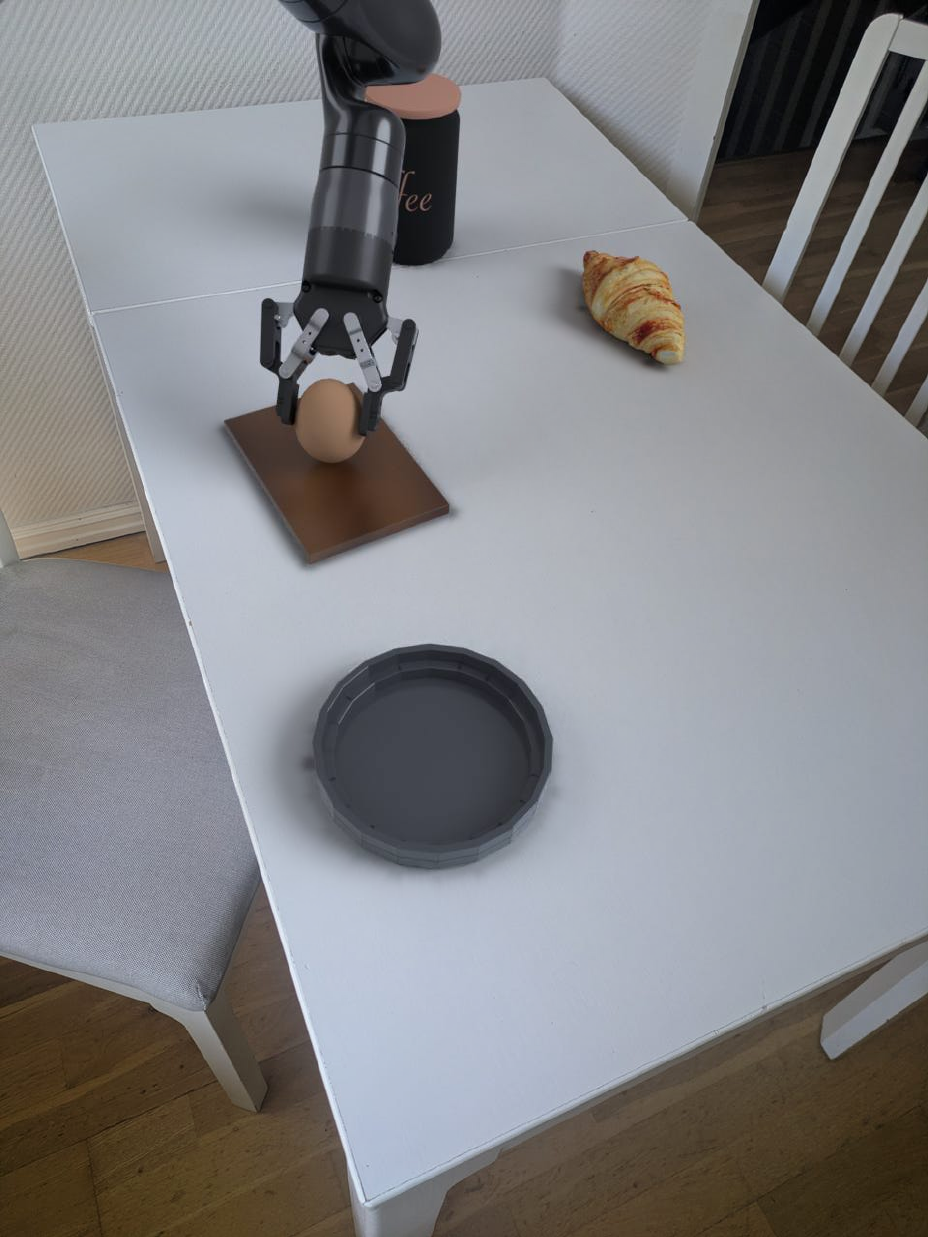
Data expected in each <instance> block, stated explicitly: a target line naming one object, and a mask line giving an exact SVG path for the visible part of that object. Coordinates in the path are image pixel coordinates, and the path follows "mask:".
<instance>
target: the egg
mask: <svg viewBox="0 0 928 1237" xmlns="http://www.w3.org/2000/svg"><path fill="white" fill-rule="evenodd" d="M346 384H347V383H344V382H343V381H341V380H339V379H335V378H322V379H319V380H316V381H314V382H313V383H311V384H310V385H309V386H308V387H307V388H306V389H305V391H304V392H303V393H302V394H301V396H300V397H299V398H300V400H299V403H298V405H297V408H296V412H295V429H296V434H297V438H298V440H299V442H300V444H301V445H302V447H303V448H304V449H305V450H306V452H307V453H309V454H310V455H311V456H312V457H314V458H315V459H317V460H320V461H323V462H326V463H337V462H342V461H344V460H346V459H348V458H350V457H351V456H352V455H354V454H355V453H356V452H357V451H358V449H359V448H360V446H361V444H362V442H363V440H364V438H365V437H363V436H360V435H359V427H360V419H361V412H362V403H361V402H360V400H359V398H358V397H357V395H356V394H355V392H354V391H353V390H352V389H351V388H350V387H349V386H348V385H346Z"/></svg>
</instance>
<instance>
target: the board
mask: <svg viewBox="0 0 928 1237" xmlns="http://www.w3.org/2000/svg"><path fill="white" fill-rule="evenodd" d="M345 384H346V385H348V386H349V387H350V388H351V389H352V390H353V391H354V392H355V394H356V395H357V397H358V398H359V400H360V402H361V403H362V405H363V397H364V393H362V391H361V390H360V389H359V387H358V386H357V384H356V383H355V382H354V381H353V382H349V383H345ZM300 398H301V397H298V401H297V405H298V403H299V400H300ZM223 423H224V428H225V431H226V433H227V435H228V436H229V438H230V439H231V441H232V443H233V444H234V446H235V448H236V449H237V451H238V452H239V454H240V455H241V457H242V459H243V460H244V462H245V463H246V464H247V466H248V468H249V470H250V471H251V472H252V474H253V476H254V478H255V479H256V480H257V482H258V484H259V485H260V487H261V489H262V490H263V492H264V493H265V495H266V497H267V498H268V500H269V501H270V503H271V504H272V506H273V508H274V509H275V511H276V513H277V514H278V516H279V517H280V519H281V520H282V522H283V524H284V525H285V527H286V528H287V530H288V532H289V533H290V535H291V537H292V538H293V540H294V541H295V544H297V546H298V547H299V550H300V551H301V553H302V554H303V555H304V557H305V559H306V560H307V563H309V565H313V564H315V563H317V562H320V561H322V560H325V559H328V558H331V557H334V556H336V555H340V554H342V553H345V552H348V551H350V550H352V549H356V548H358V547H361V546H364V545H366V544H369V543H371V542H374V541H378V540H380V539H382V538H386V537H388V536H391V535H393V534H396V533H399V532H402V531H405V530H407V529H409V528H412V527H415V526H418V525H420V524H424V523H426V522H429V521H431V520H434V519H437V518H439V517H442V516H445V515H448V514H449V513H450V503H449V502H448V500H447V499H446V498H445V497H444V496H443V494H442V493H441V491H440V490H439V489H438V488H437V487H436V485H435V483H433V481H432V480H431V479H430V478H429V476H428V475H427V474H426V472H425V471H424V470H423V469H422V468H421V466H420V465H419V463H418V462H417V461H416V459H415V458H414V457H413V456H412V454H410V452H409V451H408V449H407V448H406V447H405V446H404V445H403V443H402V441H401V440H400V439H399V438H398V437H397V435H396V434H395V433H394V432H393V430H392V429H391V428H390V427H389V425H388V424H387V423H386V422H385V420H384V419H383V418H382V416H380V421H379V427H378V429H377V430H376V432H375V431H371V435H370V437H365V438H364V440H363V442H362V444H361V446H360V448H359V449H358V451H357V452H356V453H355V454H354V455H352V456H351V457H350V458H348V459H346V460H344V461H342V462H337V463H326V462H323V461H320V460H317V459H315V458H314V457H312V456H311V455H310V454H309V453H307V452H306V450H305V449H304V448H303V447H302V445H301V444H300V442H299V440H298V438H297V434H296V429H295V423H294V425H286V424H283V423H282V422H281V417H280V416H278V415H277V413H276V404H274V405H271V406H267V407H264V408H261V409H258V410H254V411H251V412H247V413H244V414H240V415H237V416H233V417H229V418H227V419H224V420H223Z"/></svg>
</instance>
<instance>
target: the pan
mask: <svg viewBox="0 0 928 1237" xmlns="http://www.w3.org/2000/svg"><path fill="white" fill-rule="evenodd" d="M311 742H312V751H313V759H314V760H313V761H314V767H315V768H314V769H315V775H316V782H317V783H316V784H317V790H318V794H319V796H320V798H321V800H322V801H323V803H324V805H325V807H326V809H327V811H328V813H329V815H330V816H331V819H332V820H333V822H334V823H335V824H336V825H337V827H339V829H341V830H342V831H343V832H344V833H345V834H346V835H347V836H349V838H351V839H352V841H354V842H355V843H356V844H357V845H358V846H360V848H362V849H363V850H366V851H367V852H370V853H371V854H375V855H376V856H379V857H381V858H383V859H385V860H387V861H391V862H392V863H394V864H398V865H401V866H409V867H418V868H426V869H427V868H428V869H435V870H436V869H437V870H440V869H441V870H442V869H445V868H450V867H452V868H453V867H457V866H462V865H468V864H474V863H476V862H479V861H481V860H483V859H485V858H486V857H488V856H490V855H492V854H494V853H496V852H498V851H500V850H501V849H503V848H505V847H507V846H508V845H511V843H512V842H513V841H514V840H515V839H516V838H517V837H518V836H519V835H520V833H522V832H523V830H524V829H525V828H527V826H528V825H529V824H530V823H531V822H532V821H533V820H534V819H535V816H536V814H537V812H538V809H539V807H540V806H541V803H542V800H543V798H544V795H545V793H546V790H547V788H548V785H549V784H548V783H549V780H550V777H551V775H552V771H553V770H552V769H553V747H554V737H553V734H552V730H551V727H550V724H549V721H548V718H547V715H546V712H545V708H544V707H543V705H542V703H541V702H540V701H539V699H538V698H537V696H536V695H535V694H534V692H533V691H532V690H531V688H530V687H529V686H528V684H527V682H525V680H524V679H522V678H521V677H520V676H519V675H517V674H516V673H514V672H513V671H512V670H510V669H509V668H508V667H506V666H505V665H504V664H502V663H501V661H498V660H497V659H495V658H492V657H490V656H487V655H484V654H482V653H479V652H477V651H474V650H472V649H469V648H467V647H462V646H454V645H446V644H439V643H437V644H436V643H423V644H416V645H408V646H400V647H395V648H392V649H389V650H387V651H385V652H383V653H380V654H378V655H375V656H373V657H371V658H368V659H366V660H364V661H363V662H361V663H360V664H359V665H358V666H357V667H355V668H354V669H352V670H351V671H350V672H349V673H347V674H346V675H345V676H344V677H343V678H341V679H340V680H339V681H338V682H337V683H336V684H335V686H334V688H333V689H332V690H331V692H330V694H329V696H328V697H327V698H326V700H325V702H324V703H323V704H322V706H321V708H320V709H319V711H318V716H317V720H316V725H315V729H314V732H313V737H312V741H311Z"/></svg>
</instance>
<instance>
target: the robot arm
mask: <svg viewBox="0 0 928 1237" xmlns="http://www.w3.org/2000/svg"><path fill="white" fill-rule="evenodd" d="M5 1H6V0H0V6H1V5H2V4H3V3H4V2H5ZM276 1H277V2H278V3H279V4H280V5H281V6H282V7H283V8H284V9H285V10H286V11H288V13H289V14H291V15H292V16H293V17H294V18H295V19H296V20H297V21H298V22H299V23H301V25H303V26H304V27H305V28H307V29H308V30H310V31H312V32H314V40H315V41H314V44H315V54H316V60H317V67H318V74H319V75H318V76H319V83H320V93H321V105H322V113H323V114H322V115H323V135H322V136H323V137H322V143H321V152H320V159H319V167H318V175H317V180H316V184H315V188H314V192H313V196H312V200H311V205H310V206H311V207H310V213H309V220H308V221H309V222H308V230H307V238H306V244H305V253H304V260H303V267H302V276H301V285H300V291H299V293H298V295H297V297H296V298H295V300H294V301H293V302H284V301H283V302H282V301H275V300H274V299H273V298H270V297H266V298H264V299H262V301H261V304H260V305H261V306H260V310H261V311H260V337H259V338H260V339H259V342H260V343H259V344H260V345H259V364H260V366H261V367H262V368H263V369H266V370H268V371H269V372H271V373H273V374H274V375H276V377H277V378H278V388H277V394H276V395H277V396H276V402H275V405H276V413H277V415H278V416H280V417H281V422H282V423H283V424H286V425H294V423H295V412H296V408H297V401H298V398H299V393H300V387H301V386H300V384H299V383H298V380H299V379H300V378H301V376H302V375H303V373H304V372H305V371H306V369H307V367H308V366H309V365H311V364H312V363H313V362H314V360H315V359H316V357H317V356H318V355H321V356H327V357H331V356H332V357H334V356H340V357H342V358H345V359H347V360H353V361H356V359H357V361H358V364H359V367H360V369H361V371H362V374H363V377H364V379H365V382H366V385H367V391H364V392H363V395H364V397H363V405H362V412H361V419H360V427H359V435H360V436H363V437H370V435H371V431H375V432H376V430H377V429H378V427H379V421H380V417H381V413H382V406H383V399H384V397H385V396H386V395H387V394H389V393H394V392H403V391H404V390H405V389H406V387H407V384H408V383H407V382H408V379H409V375H410V371H411V366H412V363H413V358H414V354H415V349H416V345H417V342H418V338H419V332H420V331H419V328H418V325H417V323H416V321H414V320H413V319H412V318H406V319H401V318H400V319H399V318H396V317H391V316H390V315H389V313H388V308H387V303H388V294H389V287H390V281H391V273H392V266H393V262H392V260H393V253H394V246H395V244H396V240H397V223H398V197H399V187H400V180H401V173H402V165H403V159H404V151H405V143H406V131H405V127H404V124H403V122H402V120H401V119H400V118H399V117H398V116H397V115H396V114H395V113H394V112H392V111H390V110H389V109H387V108H385V107H382V106H379V105H376V104H374V103H370V102H366V98H365V96H366V90H367V87H368V86H391V85H410V84H414V83H417V82H420V81H422V80H424V79H425V78H426V77H427V76H428V75H429V74H430V73H432V72H433V71H434V70H435V68H436V67H437V64H438V62H439V59H440V56H441V51H442V41H443V40H442V38H443V37H442V29H441V23H440V20H439V16H438V14H437V11H436V8H435V7H434V4H433V3H432V1H431V0H276ZM292 317H295V319H296V322H297V324H298V325H299V327H300V329H301V331H302V332H301V333H300V335H299V336H298V338H297V339H296V341H295V342H294V344H293V345H292V347H291V350H290V352H289V353H288V355H287V357H286V358H285V360H284V361H281V360H282V332H283V331H282V329H285V328H287V327H288V325H289V321H290V319H291V318H292ZM388 330H389V331H390V332H391V340H392V342H393V343H394V344H395V345H396V348H395V353H394V356H393V361H392V365H391V369H390V373H389V375H386V376H382V374H381V371H380V367H379V363H378V361H377V358H376V355H375V351H374V349H373V346H374V345H375V344H376V342H378V340H380V338H381V337H382V336H383V335H384V334H385V333H386V332H387V331H388Z"/></svg>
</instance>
